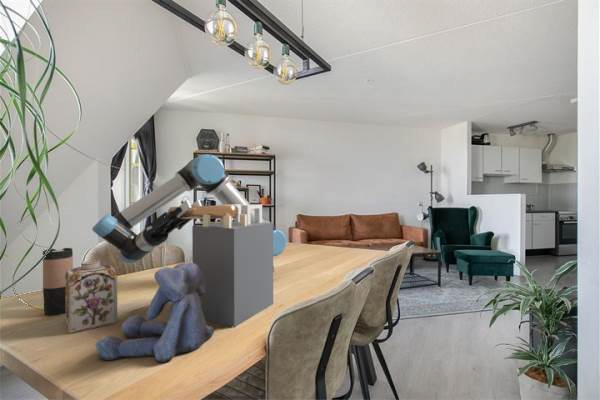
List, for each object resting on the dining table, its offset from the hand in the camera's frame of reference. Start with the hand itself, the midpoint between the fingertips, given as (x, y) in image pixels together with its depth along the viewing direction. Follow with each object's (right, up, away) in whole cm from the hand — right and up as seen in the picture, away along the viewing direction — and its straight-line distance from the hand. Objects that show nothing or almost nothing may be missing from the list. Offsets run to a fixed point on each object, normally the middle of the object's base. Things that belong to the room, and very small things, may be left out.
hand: (194, 203), depth 98 cm
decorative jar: (-28, -35, -8) cm, 45 cm away
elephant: (-1, -35, -20) cm, 41 cm away
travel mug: (-44, -35, 0) cm, 56 cm away
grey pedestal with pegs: (+13, -35, +1) cm, 37 cm away
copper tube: (+3, -5, -1) cm, 6 cm away
